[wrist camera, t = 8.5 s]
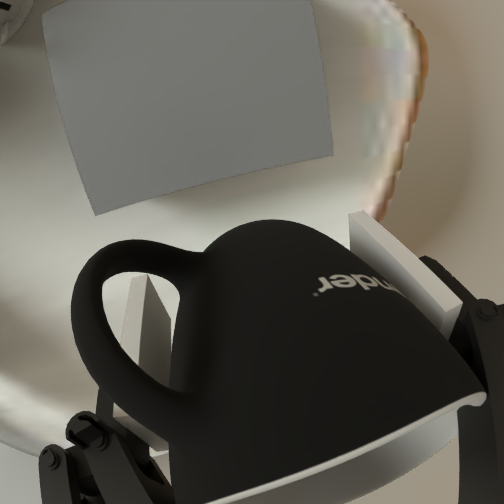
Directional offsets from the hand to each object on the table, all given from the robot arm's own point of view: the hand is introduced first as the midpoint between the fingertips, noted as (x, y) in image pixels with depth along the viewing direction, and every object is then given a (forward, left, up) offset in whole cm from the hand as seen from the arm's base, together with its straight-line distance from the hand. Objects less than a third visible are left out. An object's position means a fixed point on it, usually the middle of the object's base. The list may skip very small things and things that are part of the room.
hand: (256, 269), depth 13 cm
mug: (-1, 0, -1) cm, 1 cm away
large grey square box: (0, +9, -20) cm, 22 cm away
